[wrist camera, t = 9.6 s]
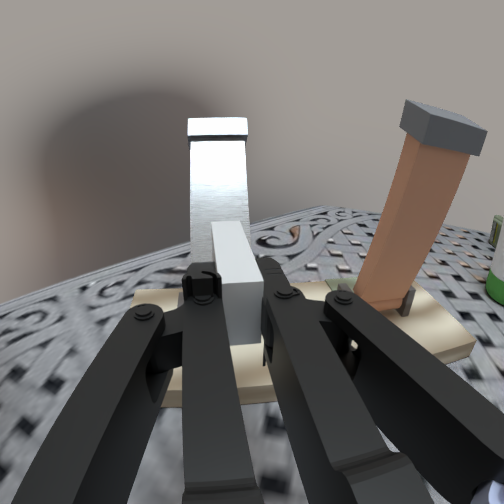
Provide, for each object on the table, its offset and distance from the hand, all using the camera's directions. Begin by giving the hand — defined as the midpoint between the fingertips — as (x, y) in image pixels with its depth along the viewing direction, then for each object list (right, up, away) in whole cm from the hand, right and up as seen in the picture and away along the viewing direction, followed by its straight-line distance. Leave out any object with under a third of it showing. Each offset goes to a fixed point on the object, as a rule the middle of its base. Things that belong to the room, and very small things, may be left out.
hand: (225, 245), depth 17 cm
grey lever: (-1, -5, +9) cm, 11 cm away
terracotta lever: (+13, -5, +11) cm, 18 cm away
